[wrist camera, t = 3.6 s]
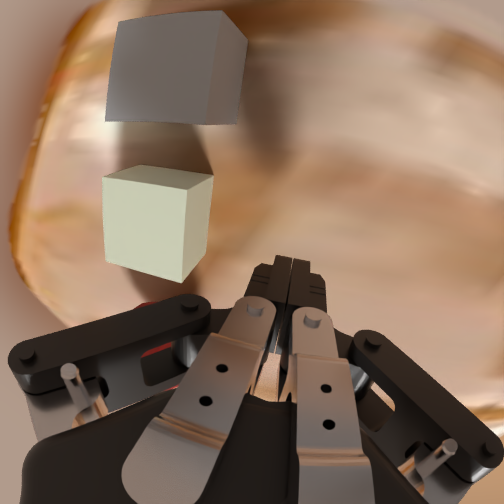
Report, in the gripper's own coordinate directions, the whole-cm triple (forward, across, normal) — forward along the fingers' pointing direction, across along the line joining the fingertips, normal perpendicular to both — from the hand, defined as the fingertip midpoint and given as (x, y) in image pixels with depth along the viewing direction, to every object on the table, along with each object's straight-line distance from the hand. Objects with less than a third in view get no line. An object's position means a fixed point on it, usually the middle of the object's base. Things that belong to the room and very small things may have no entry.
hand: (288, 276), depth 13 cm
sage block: (+5, +8, 0) cm, 9 cm away
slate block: (+5, +7, -8) cm, 12 cm away
